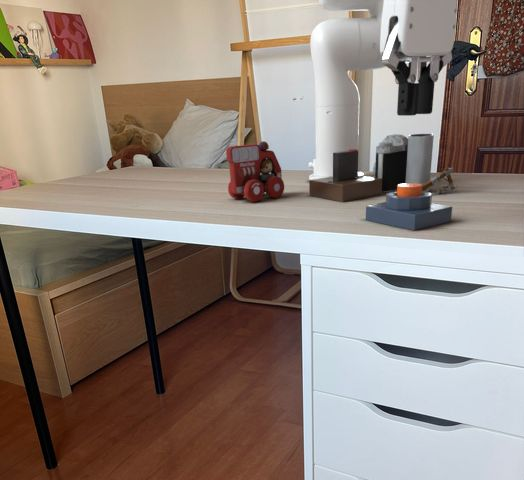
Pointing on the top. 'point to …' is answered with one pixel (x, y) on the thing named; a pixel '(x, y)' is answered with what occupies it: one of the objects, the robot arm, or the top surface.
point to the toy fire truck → (254, 172)
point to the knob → (345, 165)
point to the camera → (391, 161)
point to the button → (409, 189)
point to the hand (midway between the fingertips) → (414, 113)
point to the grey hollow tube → (419, 158)
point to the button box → (409, 211)
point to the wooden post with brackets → (438, 178)
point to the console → (345, 188)
